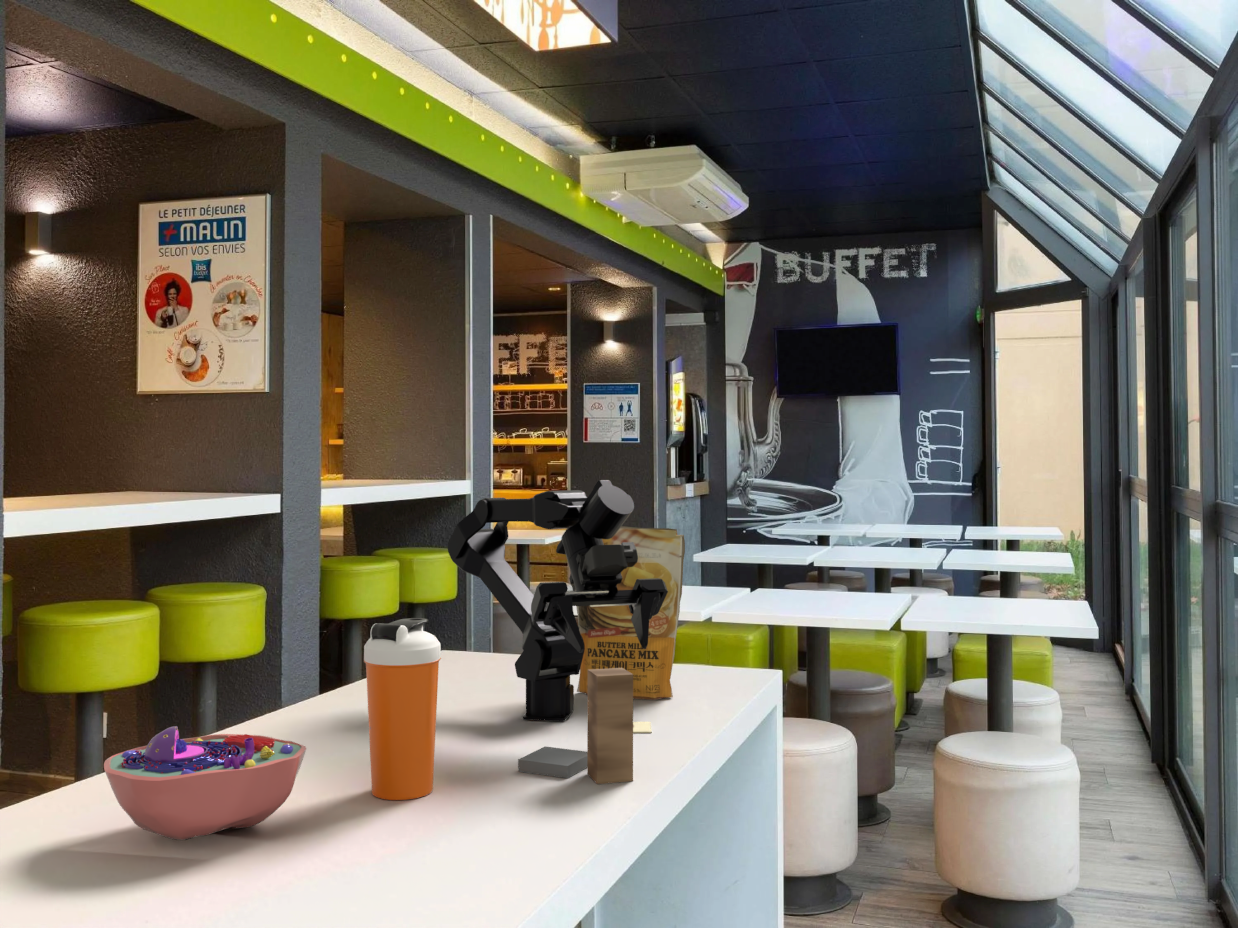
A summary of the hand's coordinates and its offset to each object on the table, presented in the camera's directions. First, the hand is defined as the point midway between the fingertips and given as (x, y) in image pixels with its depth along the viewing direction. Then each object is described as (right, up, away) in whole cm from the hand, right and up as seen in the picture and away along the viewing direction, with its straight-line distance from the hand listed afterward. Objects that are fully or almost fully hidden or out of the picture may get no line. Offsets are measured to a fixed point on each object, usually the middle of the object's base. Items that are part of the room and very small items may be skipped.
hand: (614, 648), depth 149 cm
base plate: (-7, -14, -9) cm, 18 cm away
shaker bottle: (-25, -14, -19) cm, 34 cm away
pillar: (0, -14, -13) cm, 19 cm away
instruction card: (+1, -13, +12) cm, 18 cm away
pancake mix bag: (+2, -14, +35) cm, 38 cm away
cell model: (-42, -14, -34) cm, 56 cm away
